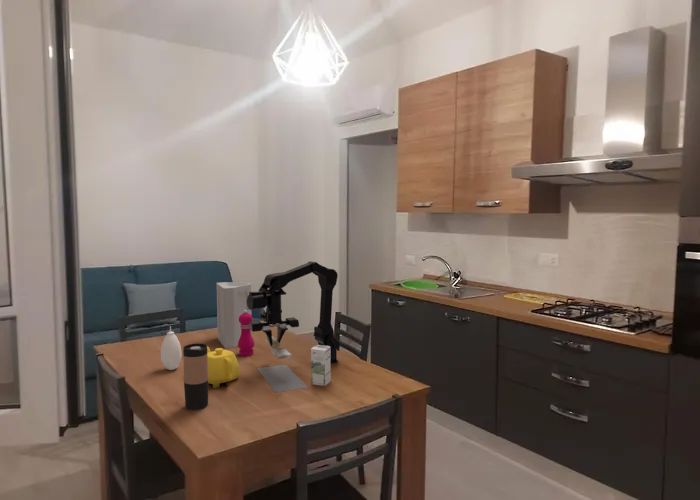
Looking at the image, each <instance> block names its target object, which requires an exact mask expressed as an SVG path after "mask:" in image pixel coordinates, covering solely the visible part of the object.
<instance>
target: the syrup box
mask: <svg viewBox="0 0 700 500" xmlns="http://www.w3.org/2000/svg"><path fill="white" fill-rule="evenodd" d="M330 359H331V349H330V346H322V345H318V344H316V345H314V346H313V347H311V349H310V376H311V377H310V378H311V380H310V381H311V382H310V383H311V385H315V386H324V387H326V386H327V385H328V384H329V383H330V382H331V379H332V378H331V376H332V375H331V374H332V373H331V363H330Z"/></svg>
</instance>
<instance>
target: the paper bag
mask: <svg viewBox="0 0 700 500" xmlns="http://www.w3.org/2000/svg"><path fill="white" fill-rule="evenodd" d="M249 292H252V283H251V282H229V281H224V282H223V281H222V282H216V310H217V311H216V313H217V314H216V315H217V316H216V317H217V319H216V320H217V321H216V322H217V339H218V341H219V342H220V343H221V345H222V347H223V348H225V349H229V348H235V347H238V341H239V339H240V336H241V328H240V324H241V323H240V322H239V316H240V315H241V314H243V313H244V310H247V311H248V312H247V313H249V314H251V315H252V310H249V309H248V306H247V298H248V296H249ZM251 335H252V336H253V331H251Z"/></svg>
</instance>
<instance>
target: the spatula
mask: <svg viewBox="0 0 700 500" xmlns="http://www.w3.org/2000/svg"><path fill="white" fill-rule="evenodd" d="M264 342H265V344H266V345H268V347H269V348H271V350H270V352H271V353H272V354H273V355H274V356H275V358H277V359H278V360H283V359H289V358H290V359H291V358H292V353H290V352H289V351H288V350H287V349H286V348H285V347H281V342H280V343H279V342H278V341H277V338H275V337H274V336H273V335H272V346H270V343H269V340H268V338H267V335H266V334H265V336H264Z"/></svg>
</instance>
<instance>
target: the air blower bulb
mask: <svg viewBox="0 0 700 500" xmlns="http://www.w3.org/2000/svg"><path fill="white" fill-rule="evenodd" d="M182 352H183V350H182V346H181V342H180V341H179V339H178V336H177V335H176V334H175V332H174V331H172V326H171V325H170V326H169V331H168V332H167V333H166V335H165V337H164V339H163V340H162V344H161V347H160V360H161V363H162V365H163V366H164V368H166V369H167V370H169V371H174V370H175V369H177V367H179V366H180V363H181V362H182V357H183V356H182V355H183V353H182Z"/></svg>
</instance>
